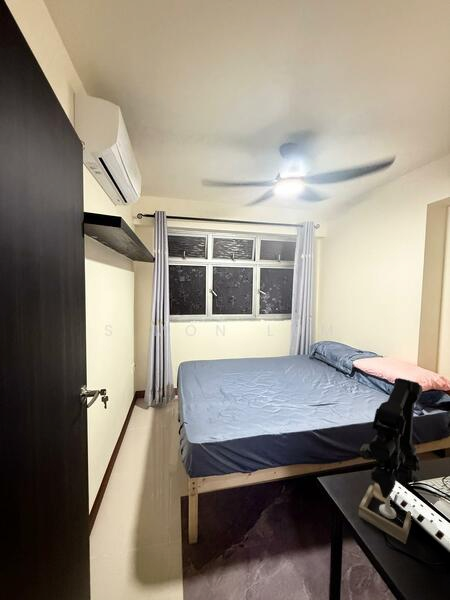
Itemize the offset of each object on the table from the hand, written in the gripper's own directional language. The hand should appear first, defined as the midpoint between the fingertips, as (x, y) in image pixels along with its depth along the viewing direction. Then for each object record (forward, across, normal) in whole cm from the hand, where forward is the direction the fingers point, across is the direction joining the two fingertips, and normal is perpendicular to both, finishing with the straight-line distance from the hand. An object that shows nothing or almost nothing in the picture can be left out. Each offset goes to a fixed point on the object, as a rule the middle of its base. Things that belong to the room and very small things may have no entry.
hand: (388, 489), depth 86 cm
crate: (+8, +2, 0) cm, 8 cm away
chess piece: (+8, 0, 0) cm, 8 cm away
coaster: (+8, -7, -3) cm, 11 cm away
